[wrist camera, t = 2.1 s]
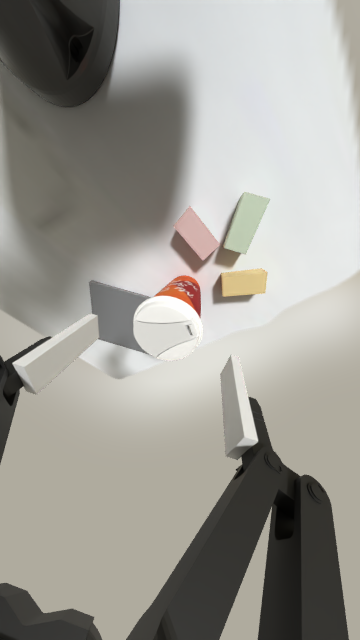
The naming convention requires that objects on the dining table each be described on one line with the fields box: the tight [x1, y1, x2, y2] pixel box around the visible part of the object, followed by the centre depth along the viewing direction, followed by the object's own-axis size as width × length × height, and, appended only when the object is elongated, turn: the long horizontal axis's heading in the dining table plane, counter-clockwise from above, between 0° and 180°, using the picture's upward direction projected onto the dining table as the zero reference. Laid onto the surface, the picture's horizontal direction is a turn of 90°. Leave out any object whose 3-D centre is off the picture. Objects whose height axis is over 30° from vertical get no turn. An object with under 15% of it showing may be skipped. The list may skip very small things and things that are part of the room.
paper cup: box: [133, 276, 203, 361], centre depth 21 cm, size 8×8×14 cm
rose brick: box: [174, 206, 220, 261], centre depth 21 cm, size 6×3×3 cm, turn 45°
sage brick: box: [223, 192, 270, 254], centre depth 20 cm, size 6×3×3 cm, turn 166°
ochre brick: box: [221, 268, 267, 297], centre depth 24 cm, size 6×3×3 cm, turn 99°
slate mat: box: [89, 281, 152, 354], centre depth 33 cm, size 14×14×1 cm
